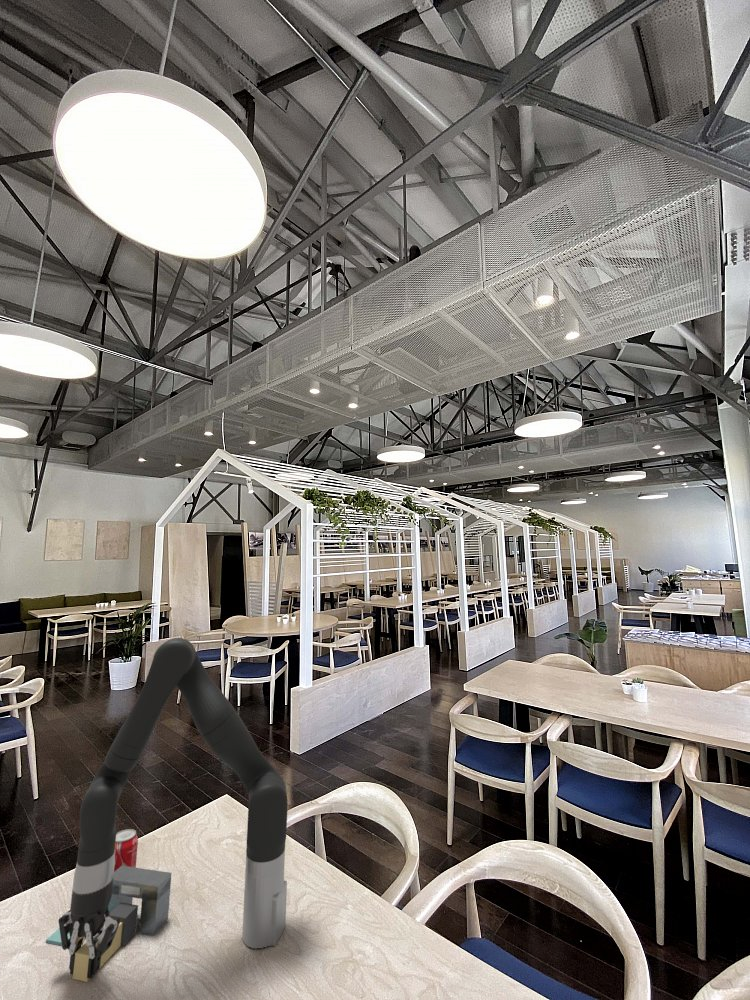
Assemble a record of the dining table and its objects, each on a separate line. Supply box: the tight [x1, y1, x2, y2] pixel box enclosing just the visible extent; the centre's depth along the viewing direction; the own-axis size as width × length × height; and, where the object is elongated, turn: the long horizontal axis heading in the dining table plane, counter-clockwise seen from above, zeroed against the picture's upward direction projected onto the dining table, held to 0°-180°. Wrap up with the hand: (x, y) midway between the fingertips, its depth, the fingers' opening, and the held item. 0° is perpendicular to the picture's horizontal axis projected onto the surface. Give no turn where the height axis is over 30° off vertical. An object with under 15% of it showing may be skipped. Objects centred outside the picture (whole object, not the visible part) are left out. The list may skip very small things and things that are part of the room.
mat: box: [45, 927, 86, 947], centre depth 105 cm, size 8×15×1 cm, turn 169°
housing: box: [108, 866, 172, 936], centre depth 104 cm, size 14×5×10 cm, turn 79°
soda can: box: [114, 828, 139, 872], centre depth 118 cm, size 7×7×12 cm
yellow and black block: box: [71, 903, 139, 983], centre depth 95 cm, size 5×13×6 cm, turn 169°
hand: (83, 972), depth 90 cm, fingers closed on yellow and black block, 3 cm apart
